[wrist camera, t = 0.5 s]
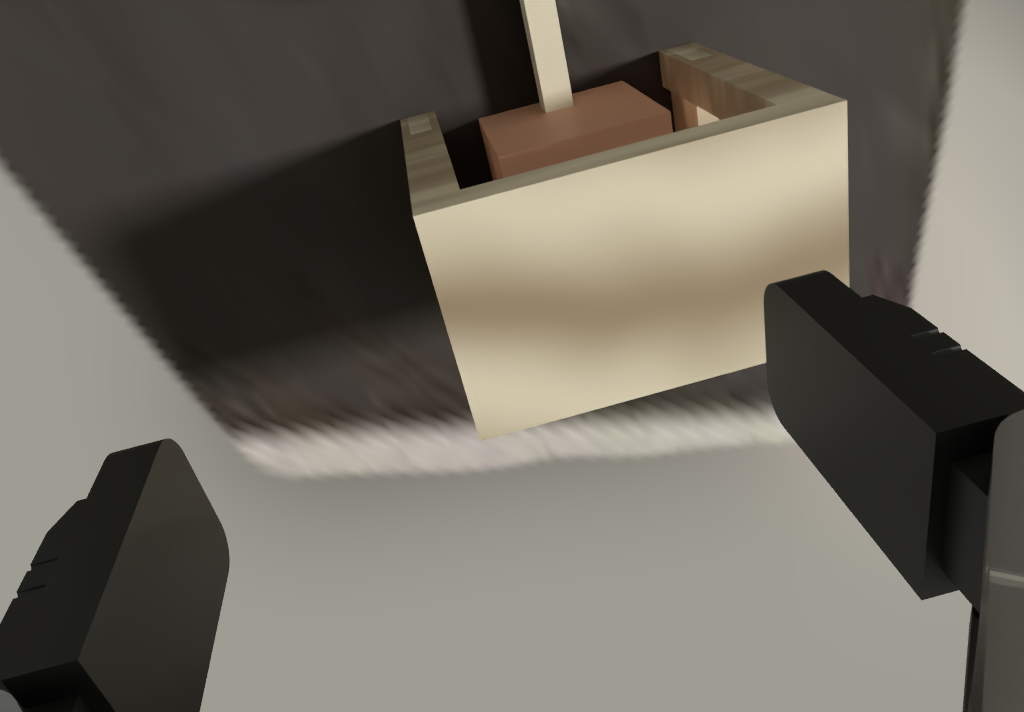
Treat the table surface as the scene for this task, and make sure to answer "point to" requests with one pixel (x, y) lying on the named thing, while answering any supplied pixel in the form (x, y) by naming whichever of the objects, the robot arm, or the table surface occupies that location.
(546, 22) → the cube base joystick
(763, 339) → the beige u-shaped block
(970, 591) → the robot arm
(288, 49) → the table surface
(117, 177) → the table surface
